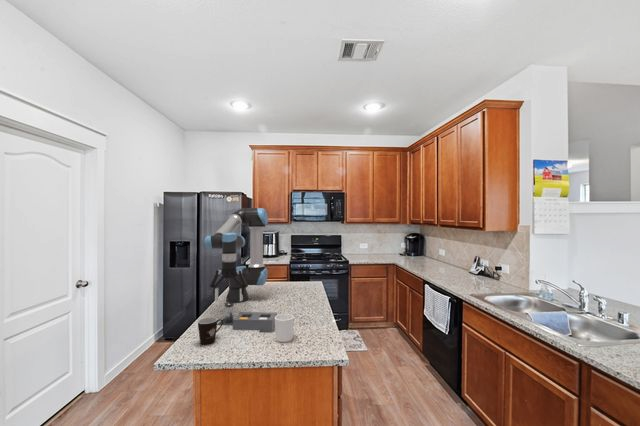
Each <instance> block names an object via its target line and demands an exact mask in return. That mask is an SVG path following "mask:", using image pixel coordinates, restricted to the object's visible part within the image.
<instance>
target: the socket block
mask: <svg viewBox="0 0 640 426" xmlns="http://www.w3.org/2000/svg"><path fill="white" fill-rule="evenodd" d="M277 315H278V312H274V311H273V312H267V311H266V312H262V311H261V312H260V311H259V312H256V311H254V312H253V311H252V312H251V311H250V312H249V311H241V312H239V313H238V314H237V315H236V316H235V317H233V325H232V330H233V331H259V333H273V332H274V331H275V316H277Z"/></svg>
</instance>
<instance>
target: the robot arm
mask: <svg viewBox="0 0 640 426" xmlns="http://www.w3.org/2000/svg"><path fill="white" fill-rule="evenodd" d="M268 223H269V217H268V213H267V210H266V209H265V208H263V207H262V208H261V207H251V208H250V207H248V208H247V207H243V208H239V209H238V210H236V211H234V212H232V213H231V214H229V216H228V218H227V220H226V222H224V223H223V225H222V226H220V227H219V228H218V230H217V231H216V232H215V233H214V234H213V235H207V236H205V237H204V242H203V243H204V247H205V248H206V249H212V250H213V249H214V250H216V249H217V250H219V249H221V251H222V252H221V254H222V255H221V261H222V262H221V270H220V269H217V270H216V271H215V275H214V277H213V279H212V281H211V283H210V285H209V288H212V289H213V293H212V294H213V295H214V302H217V301H219V285H220V284H221V283H222V282H223V281H224V279H227V280H228V291H227V295H226V298H225V300H226V303H227V302H233V303H234V304H237V303H243V302H247V301H248V300H249V294H248V290H247V288H248V287H249V286H257V287H258V286H264V285H265V284H266V282H267V279H268V274H269V271H268V268H266V265H265V264H264V261H263V260H264V256H263V255H264V229H265V228H266V225H268ZM241 225H248V227H247V228H249V230H250V250H249V251H250V260H249V261H250V263H249V265H248V266H246V265H241V266H237V250H238V249H242V248H243V247H244V246H245V245H246V239H245V237H243V236H242V235H237V233H236V232H234V231H235V230H236V229H237V228H238V227H240V226H241ZM220 274H221V277H220ZM219 277H220V278H219ZM218 278H219V279H218Z"/></svg>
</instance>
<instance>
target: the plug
mask: <svg viewBox="0 0 640 426" xmlns="http://www.w3.org/2000/svg"><path fill="white" fill-rule="evenodd" d="M234 304H235V303H233V302H227V301H226V302H225V303H224V307H225V308H224V310H225V314H224V317H225V318H224V319H225V323H232V322H233V319H234Z"/></svg>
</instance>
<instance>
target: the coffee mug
mask: <svg viewBox="0 0 640 426" xmlns="http://www.w3.org/2000/svg"><path fill="white" fill-rule="evenodd" d="M220 321H222V324H221V325H219V327H218V325H217V324H218V323H219V322H220ZM223 326H224V325H223V319H220V318H219V319H218V317H214V316H213V317H211V316H210V317H204V318H199V319H198V321H197V327H198V335H199V336H198V337H199V343H200V345H201V346H211V345H213V344H214V343H215V342H216V336H217V333H218V332H219V330H220V329H221V328H222V327H223Z"/></svg>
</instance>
